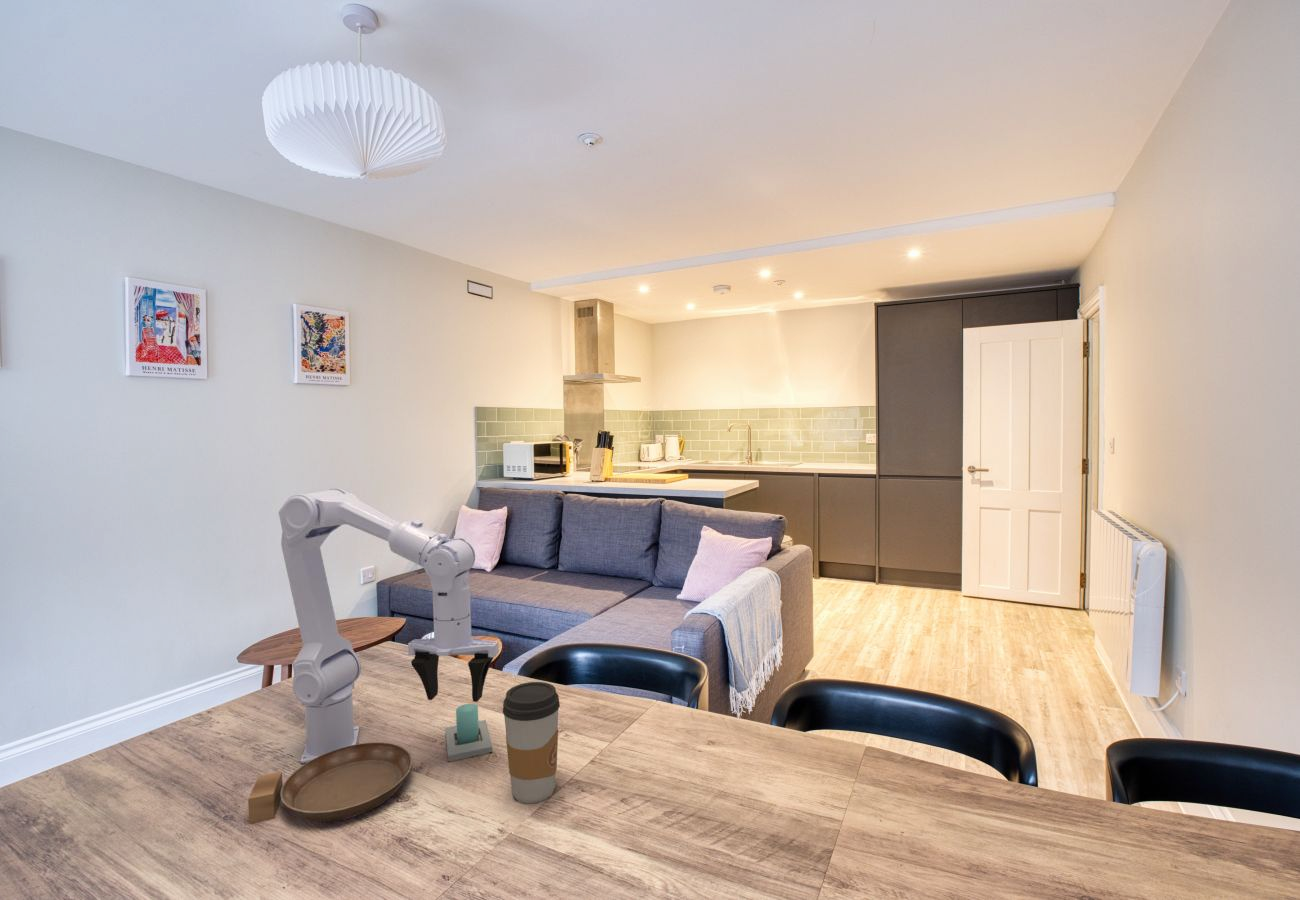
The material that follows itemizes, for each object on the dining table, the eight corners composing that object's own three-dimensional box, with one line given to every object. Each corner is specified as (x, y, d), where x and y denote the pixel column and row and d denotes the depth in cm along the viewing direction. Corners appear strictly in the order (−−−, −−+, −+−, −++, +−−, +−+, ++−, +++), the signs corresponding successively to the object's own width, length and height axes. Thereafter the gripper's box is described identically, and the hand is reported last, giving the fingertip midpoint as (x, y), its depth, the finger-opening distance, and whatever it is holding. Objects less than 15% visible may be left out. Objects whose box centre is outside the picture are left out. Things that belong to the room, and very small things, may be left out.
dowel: (456, 739, 106) (455, 706, 106) (478, 735, 107) (476, 702, 107) (457, 750, 102) (456, 715, 102) (480, 745, 104) (478, 711, 104)
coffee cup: (550, 811, 85) (547, 707, 85) (495, 805, 87) (491, 702, 87) (569, 777, 94) (567, 682, 93) (519, 772, 95) (516, 678, 95)
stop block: (259, 799, 90) (258, 775, 90) (283, 794, 91) (282, 771, 91) (249, 823, 84) (248, 798, 84) (274, 818, 85) (273, 793, 85)
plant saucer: (364, 838, 81) (363, 816, 81) (250, 824, 85) (249, 803, 84) (435, 765, 99) (434, 746, 98) (338, 755, 102) (338, 738, 102)
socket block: (445, 733, 108) (445, 727, 108) (486, 725, 111) (485, 719, 111) (448, 761, 99) (448, 755, 99) (492, 752, 101) (492, 746, 101)
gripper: (396, 622, 95) (400, 707, 96) (485, 624, 93) (488, 711, 94) (419, 609, 102) (422, 688, 103) (502, 610, 100) (504, 691, 101)
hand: (455, 698), depth 99 cm, fingers open, 7 cm apart
